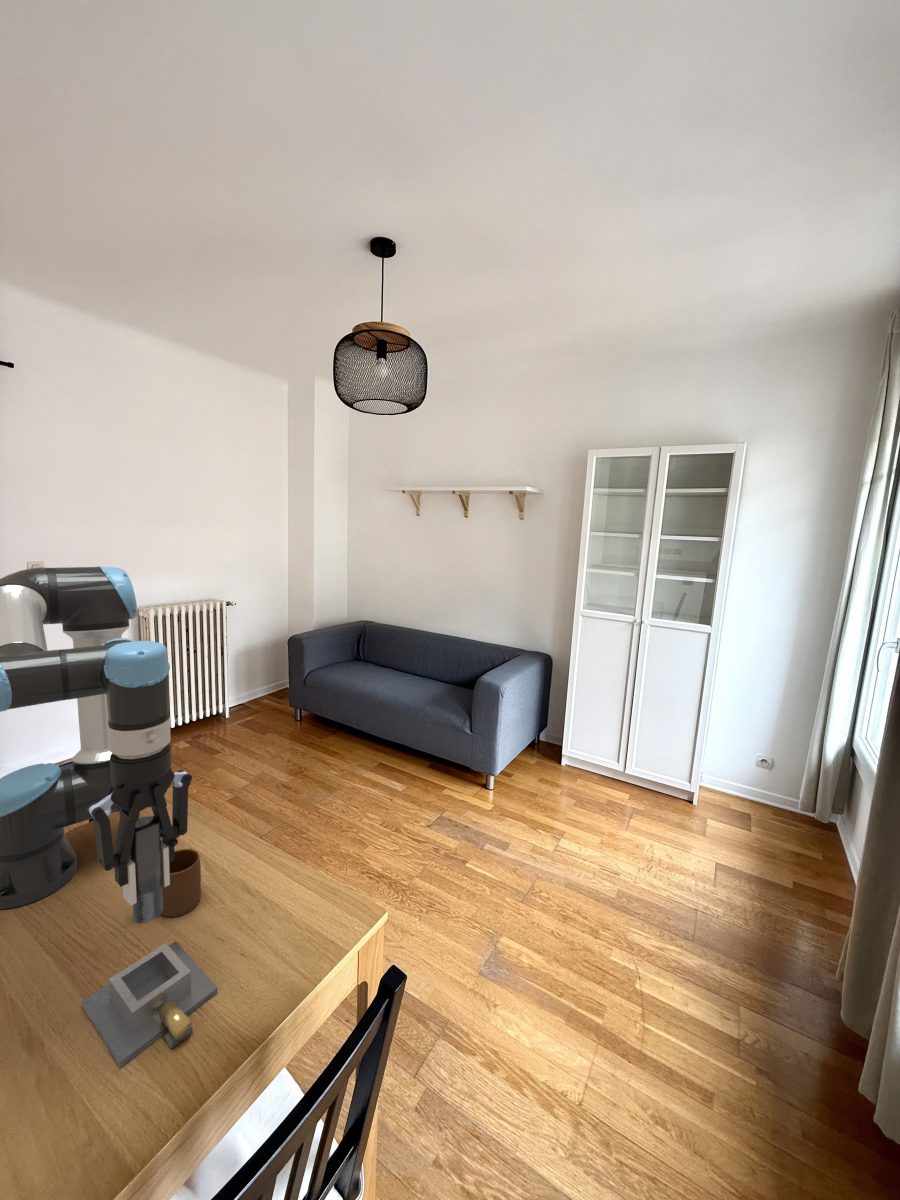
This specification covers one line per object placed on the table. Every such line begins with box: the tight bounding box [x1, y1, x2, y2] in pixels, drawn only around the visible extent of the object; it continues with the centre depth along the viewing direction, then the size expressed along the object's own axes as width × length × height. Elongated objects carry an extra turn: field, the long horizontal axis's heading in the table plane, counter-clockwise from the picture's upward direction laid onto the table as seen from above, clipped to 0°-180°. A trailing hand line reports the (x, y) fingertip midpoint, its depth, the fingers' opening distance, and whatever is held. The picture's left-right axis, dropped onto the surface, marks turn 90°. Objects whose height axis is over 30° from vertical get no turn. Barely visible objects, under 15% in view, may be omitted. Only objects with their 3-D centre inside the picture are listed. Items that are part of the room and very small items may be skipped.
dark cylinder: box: [130, 815, 163, 924], centre depth 72 cm, size 4×4×15 cm
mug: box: [160, 848, 202, 918], centre depth 93 cm, size 12×8×9 cm, turn 125°
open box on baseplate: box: [81, 940, 218, 1069], centre depth 75 cm, size 18×14×4 cm
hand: (147, 890), depth 73 cm, fingers closed on dark cylinder, 4 cm apart
